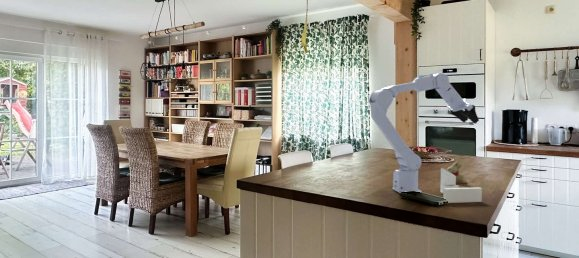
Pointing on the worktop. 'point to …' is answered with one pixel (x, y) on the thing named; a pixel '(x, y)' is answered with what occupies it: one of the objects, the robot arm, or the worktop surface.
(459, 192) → the wall panel
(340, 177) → the worktop surface
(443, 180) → the white wedge bracket
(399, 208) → the worktop surface
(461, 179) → the chocolate bunny
